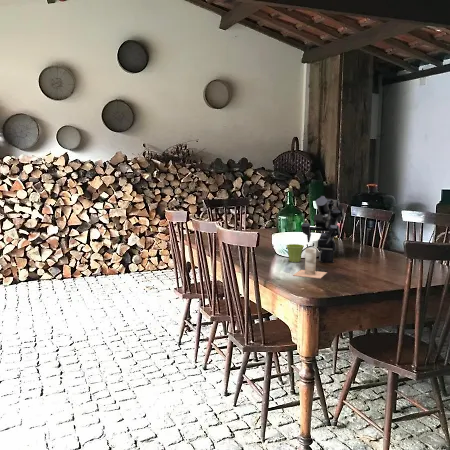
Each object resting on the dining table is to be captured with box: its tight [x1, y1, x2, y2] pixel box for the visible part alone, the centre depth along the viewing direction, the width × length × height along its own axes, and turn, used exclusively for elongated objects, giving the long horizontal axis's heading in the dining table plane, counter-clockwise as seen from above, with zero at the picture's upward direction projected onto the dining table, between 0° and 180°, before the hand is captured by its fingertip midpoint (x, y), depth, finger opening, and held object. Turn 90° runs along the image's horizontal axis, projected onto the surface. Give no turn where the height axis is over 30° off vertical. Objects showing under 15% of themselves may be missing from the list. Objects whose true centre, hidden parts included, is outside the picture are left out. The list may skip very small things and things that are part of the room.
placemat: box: [292, 269, 328, 280], centre depth 233 cm, size 13×13×1 cm
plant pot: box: [286, 243, 305, 263], centre depth 263 cm, size 9×9×9 cm
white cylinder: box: [304, 247, 317, 275], centre depth 232 cm, size 5×5×12 cm
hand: (317, 242), depth 242 cm, fingers open, 9 cm apart
